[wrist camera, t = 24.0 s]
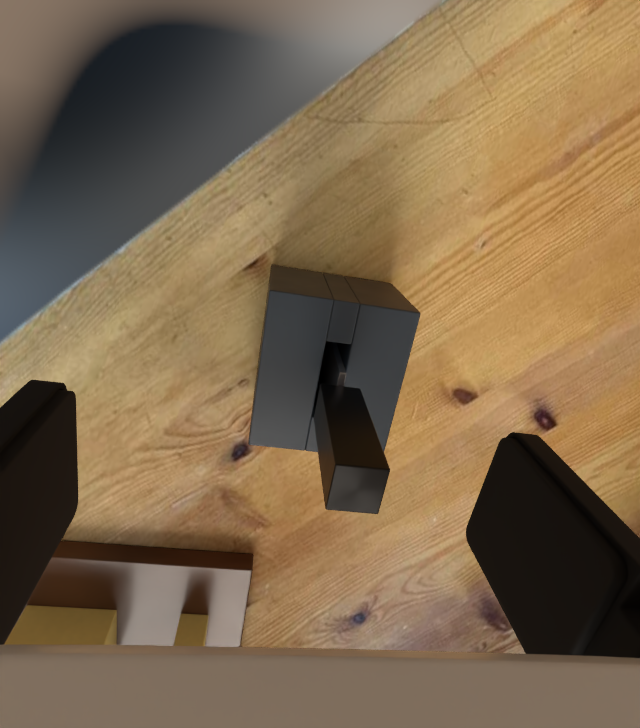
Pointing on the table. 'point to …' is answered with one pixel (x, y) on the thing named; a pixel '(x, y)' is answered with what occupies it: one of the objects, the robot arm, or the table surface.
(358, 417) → the knife
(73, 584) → the board
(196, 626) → the butter slice
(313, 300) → the knife block
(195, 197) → the table surface
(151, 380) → the table surface
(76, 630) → the butter
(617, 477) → the table surface
